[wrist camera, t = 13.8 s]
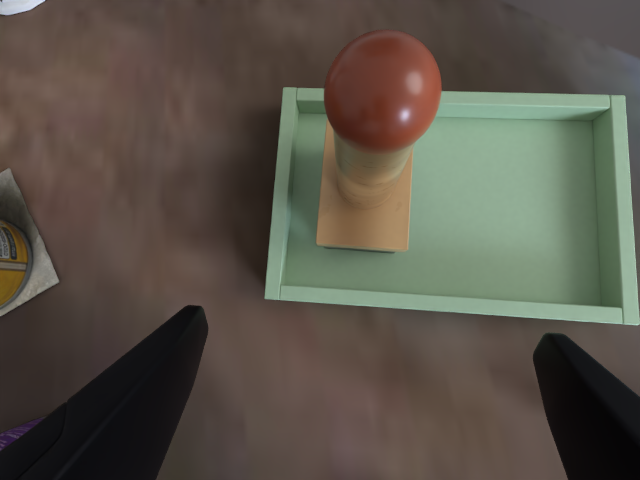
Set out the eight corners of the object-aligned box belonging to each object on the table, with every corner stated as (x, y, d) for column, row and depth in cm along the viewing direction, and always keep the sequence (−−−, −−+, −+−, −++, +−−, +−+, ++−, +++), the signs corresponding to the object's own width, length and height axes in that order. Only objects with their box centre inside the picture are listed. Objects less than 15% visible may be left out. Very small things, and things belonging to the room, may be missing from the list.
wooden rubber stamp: (403, 150, 21) (486, -59, 9) (397, 257, 20) (481, 196, 8) (329, 145, 21) (307, -60, 9) (320, 251, 21) (281, 183, 8)
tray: (598, 114, 21) (625, 94, 19) (609, 322, 19) (640, 325, 17) (288, 106, 23) (283, 86, 21) (272, 298, 21) (264, 299, 19)
